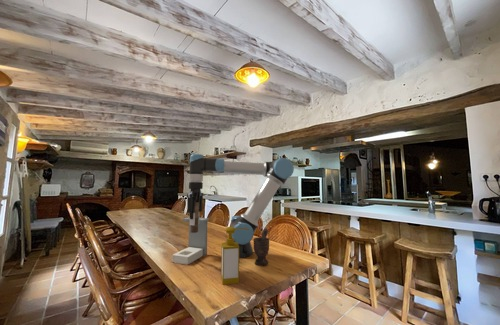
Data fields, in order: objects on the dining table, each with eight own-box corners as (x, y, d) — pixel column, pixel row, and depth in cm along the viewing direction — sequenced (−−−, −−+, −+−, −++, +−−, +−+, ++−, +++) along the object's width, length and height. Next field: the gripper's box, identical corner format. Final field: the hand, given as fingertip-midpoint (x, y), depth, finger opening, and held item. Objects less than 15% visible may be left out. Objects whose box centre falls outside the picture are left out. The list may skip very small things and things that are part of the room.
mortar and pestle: (276, 266, 112) (276, 227, 114) (264, 270, 107) (264, 229, 109) (262, 259, 122) (262, 224, 124) (250, 263, 117) (250, 225, 118)
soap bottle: (251, 281, 95) (251, 227, 97) (222, 284, 92) (223, 228, 94) (247, 274, 102) (248, 224, 104) (221, 277, 99) (222, 225, 101)
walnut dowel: (199, 231, 119) (200, 202, 120) (195, 233, 115) (196, 203, 116) (193, 230, 120) (194, 202, 121) (188, 232, 116) (190, 202, 118)
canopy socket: (208, 254, 130) (208, 218, 132) (190, 265, 113) (191, 223, 115) (188, 251, 135) (189, 217, 137) (169, 261, 118) (170, 222, 120)
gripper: (198, 181, 129) (196, 221, 127) (181, 181, 113) (179, 226, 111) (209, 181, 127) (208, 222, 125) (193, 181, 111) (191, 228, 109)
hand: (194, 224), depth 118 cm, fingers closed on walnut dowel, 4 cm apart
